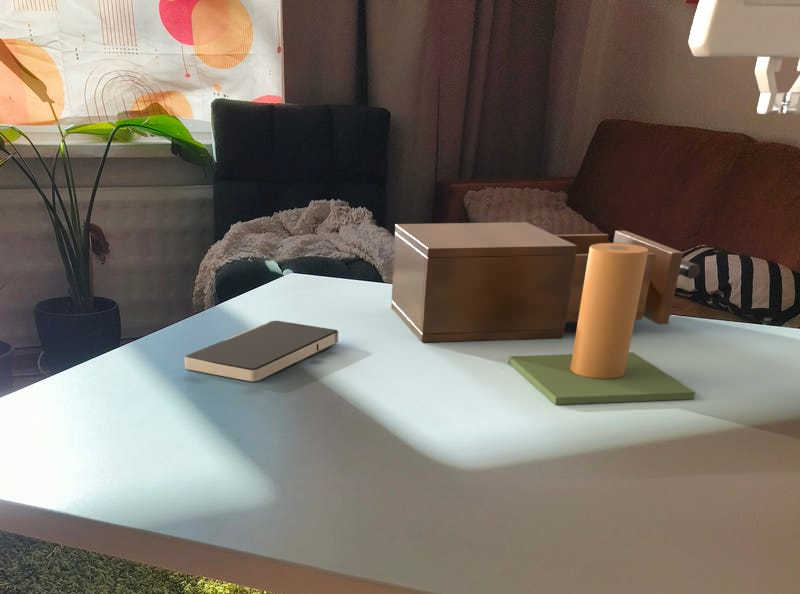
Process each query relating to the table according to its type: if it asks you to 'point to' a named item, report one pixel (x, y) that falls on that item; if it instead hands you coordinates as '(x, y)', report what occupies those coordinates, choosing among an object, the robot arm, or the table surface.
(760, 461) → the table surface
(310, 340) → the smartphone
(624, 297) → the paper roll
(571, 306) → the drawer
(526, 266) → the cabinet
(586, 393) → the mat
